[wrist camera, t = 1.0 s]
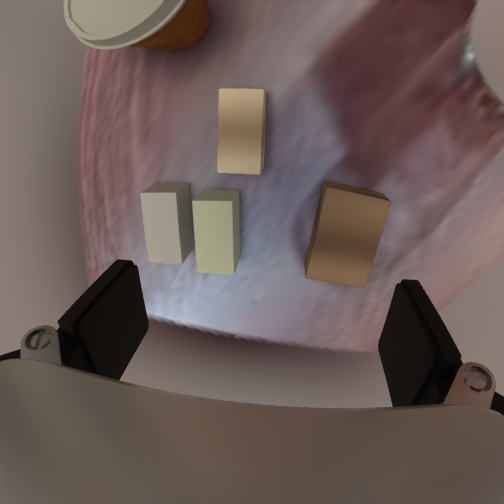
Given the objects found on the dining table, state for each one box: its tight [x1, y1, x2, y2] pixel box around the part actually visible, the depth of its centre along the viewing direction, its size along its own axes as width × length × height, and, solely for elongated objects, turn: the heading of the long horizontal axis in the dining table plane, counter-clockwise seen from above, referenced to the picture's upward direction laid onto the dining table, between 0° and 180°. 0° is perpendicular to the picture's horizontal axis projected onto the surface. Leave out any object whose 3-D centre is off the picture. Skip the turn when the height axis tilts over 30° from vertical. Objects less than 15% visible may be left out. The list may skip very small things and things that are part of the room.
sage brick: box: [192, 190, 240, 275], centre depth 29 cm, size 7×4×4 cm, turn 0°
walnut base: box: [305, 181, 391, 288], centre depth 29 cm, size 9×6×3 cm, turn 172°
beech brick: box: [217, 89, 267, 175], centre depth 25 cm, size 7×4×4 cm, turn 178°
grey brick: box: [140, 183, 193, 265], centre depth 29 cm, size 7×4×4 cm, turn 179°
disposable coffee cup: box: [64, 0, 210, 50], centre depth 17 cm, size 10×10×12 cm
